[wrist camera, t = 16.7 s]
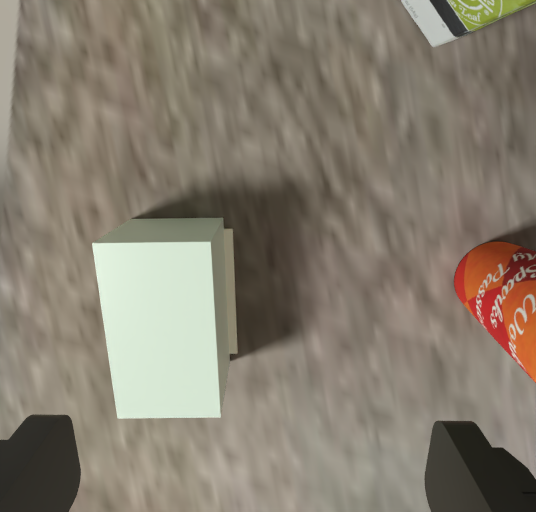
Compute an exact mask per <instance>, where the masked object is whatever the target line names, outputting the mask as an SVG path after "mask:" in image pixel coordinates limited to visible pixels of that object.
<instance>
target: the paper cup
mask: <svg viewBox="0 0 536 512" xmlns="http://www.w3.org/2000/svg"><path fill="white" fill-rule="evenodd" d="M454 287H455V291H456V293H457V295H458V297H459V299H460V300H461V302H462V303H463V304H464V305H465V307H466V308H467V309H468V310H469V311H470V312H471V313H472V315H473V316H474V317H475V318H476V319H477V320H478V321H479V322H480V323H481V324H482V326H483V327H484V328H485V329H486V330H487V331H488V332H489V333H490V334H491V335H492V336H493V337H494V339H495V340H496V341H497V342H498V343H499V344H500V345H501V346H502V347H503V348H504V349H505V350H506V352H507V353H508V354H509V355H510V356H511V357H512V358H513V359H514V360H515V361H516V362H517V363H518V364H519V365H520V367H521V368H522V369H523V370H524V371H525V372H526V373H527V374H528V375H529V376H530V377H531V378H532V379H533V380H534V382H535V383H536V251H533V250H530V249H527V248H524V247H521V246H518V245H515V244H511V243H507V242H499V241H496V242H488V243H485V244H482V245H479V246H477V247H475V248H474V249H472V250H471V251H470V252H468V253H467V254H466V255H465V256H464V257H463V259H462V260H461V261H460V263H459V265H458V267H457V269H456V272H455V276H454Z"/></svg>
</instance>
